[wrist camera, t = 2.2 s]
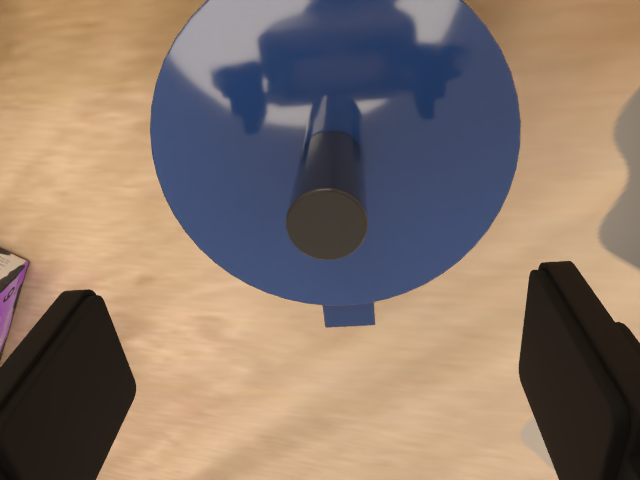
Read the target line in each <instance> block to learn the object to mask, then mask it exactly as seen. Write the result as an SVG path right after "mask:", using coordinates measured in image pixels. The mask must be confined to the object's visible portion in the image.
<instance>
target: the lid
mask: <svg viewBox="0 0 640 480" xmlns="http://www.w3.org/2000/svg"><path fill="white" fill-rule="evenodd" d="M520 128H521V120H520V112H519V103H518V96H517V92H516V89H515V85H514V81H513V78H512V74H511V71H510V69H509V67H508V64H507V62H506V60H505V57H504V55H503V53H502V51H501V49H500V47H499V45H498V44H497V42H496V41H495V39H494V37H493V36H492V34H491V33H490V31H489V30H488V28H487V26H486V25H485V24H484V23H483V22H482V21H481V20H480V18H479V17H478V16H477V15H476V14H475V13H474V11H473V10H472V9H471V8H470V7H469V6H468V5H467V4H466V3H465V2H464V1H462V0H207V1H206V2H205V3H204V4H203V5H202V6H201V7H200V8H199V9H198V10H197V11H196V12H195V13H194V14H193V15H192V16H191V17H190V19H189V20H188V22H187V23H186V24H185V26H184V27H183V28H182V30H181V31H180V33H179V34H178V35H177V37H176V38H175V40H174V42H173V44H172V46H171V48H170V50H169V52H168V54H167V55H166V57H165V59H164V62H163V65H162V67H161V70H160V73H159V76H158V79H157V82H156V86H155V91H154V96H153V101H152V106H151V123H150V135H151V147H152V155H153V160H154V164H155V169H156V173H157V177H158V180H159V182H160V185H161V188H162V191H163V193H164V196H165V198H166V200H167V202H168V204H169V206H170V208H171V210H172V212H173V214H174V215H175V217H176V218H177V220H178V221H179V223H180V224H181V226H182V227H183V229H184V230H185V232H186V233H187V234H188V235H189V237H190V238H191V239H192V240H193V241H194V242H195V244H196V245H197V246H198V247H199V248H200V249H201V250H202V251H203V252H204V253H205V254H206V255H207V256H208V257H209V258H211V259H212V260H213V261H214V262H215V263H216V264H218V265H219V266H220V267H222V268H223V269H224V270H226V271H227V272H228V273H230V274H231V275H233V276H235V277H236V278H238V279H240V280H242V281H243V282H245V283H247V284H248V285H251V286H253V287H255V288H257V289H260V290H262V291H264V292H266V293H269V294H272V295H275V296H278V297H281V298H285V299H288V300H293V301H298V302H302V303H308V304H318V305H355V304H365V303H370V302H375V301H380V300H384V299H388V298H391V297H394V296H397V295H400V294H403V293H406V292H409V291H411V290H413V289H415V288H417V287H420V286H422V285H424V284H426V283H428V282H429V281H431V280H433V279H434V278H436V277H438V276H439V275H441V274H443V273H444V272H445V271H447V270H448V269H449V268H451V267H452V266H453V265H455V264H456V263H457V262H459V261H460V260H461V259H462V258H463V257H464V256H465V255H466V254H467V253H468V252H469V251H470V250H471V249H472V248H473V247H474V246H475V245H476V244H477V243H478V241H479V240H480V239H481V238H482V237H483V235H484V234H485V233H486V232H487V230H488V229H489V228H490V226H491V224H492V223H493V221H494V220H495V218H496V216H497V215H498V213H499V212H500V210H501V208H502V205H503V203H504V201H505V199H506V197H507V195H508V192H509V190H510V187H511V184H512V180H513V177H514V174H515V171H516V167H517V161H518V155H519V149H520Z"/></svg>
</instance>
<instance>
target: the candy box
mask: <svg viewBox="0 0 640 480" xmlns="http://www.w3.org/2000/svg"><path fill="white" fill-rule="evenodd" d="M27 266H28V261H26V260H24V259H22V258H20V257H18V256H16V255H13V254H11V253H9V252H7V251H5V250H3V249H0V358H1V355H2V352H3V348H4V344H5V341H6V337H7V334H8V331H9V327H10V323H11V320H12V316H13V313H14V310H15V307H16V303H17V299H18V296H19V293H20V289H21V286H22V282H23V279H24V276H25V273H26V269H27Z"/></svg>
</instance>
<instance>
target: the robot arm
mask: <svg viewBox="0 0 640 480" xmlns="http://www.w3.org/2000/svg"><path fill="white" fill-rule="evenodd" d="M519 376H520V381H521V384H522V386H523V389H524V391H525V394H526V397H527V399H528V402H529V404H530V407H531V409H532V412H533V414H534V417H535V419H536V422H537V425H538V427H539V430H540V432H541V434H542V437H543V440H544V442H545V445H546V447H547V450H548V453H549V455H550V458H551V460H552V463H553V465H554V468H555V470H556V473H557V476H558V478H559V480H640V343H639V342H638V340H637V339H636V338H635V336H634V335H633V334H632V332H631V331H630V329H629V328H628V327H627V326H626V325H625V324H623V323H620V322H614V320H613V319H612V317H611V316H610V315H609V313H608V312H607V310H606V309H605V308H604V306H603V305H602V303H601V302H600V300H599V299H598V298H597V296H596V295H595V293H594V292H593V290H592V289H591V288H590V286H589V285H588V283H587V282H586V280H585V279H584V278H583V276H582V275H581V273H580V272H579V271H578V269H577V268H576V266H575V265H574V264H573V263H572V262H571V261H562V262H545V263H541V264H540V266H539V269H538V270H532V271H531V273H530V276H529V284H528V293H527V301H526V310H525V318H524V326H523V335H522V343H521V352H520V360H519ZM135 393H136V383H135V380H134V377H133V374H132V372H131V369H130V367H129V364H128V361H127V359H126V356H125V354H124V351H123V349H122V346H121V343H120V341H119V338H118V336H117V333H116V331H115V328H114V325H113V323H112V320H111V318H110V315H109V312H108V310H107V307H106V305H105V302H104V300H103V298H102V297H101V296H98V295H97V296H96V294H95V293H94V292H93V291H92V290H73V291H64V292H63V293H61V294H60V295H59V297H58V298H57V299H56V300H55V301H54V303H53V304H52V305H51V306H50V308H49V309H48V310H47V311H46V312H45V314H44V315H43V316H42V317H41V319H40V320H39V321H38V322H37V323H36V325H35V326H34V327H33V328H32V329H31V331H30V332H29V333H28V334H27V336H26V337H25V338H24V339H23V340H22V342H21V343H20V344H19V345H18V347H17V348H16V349H15V350H14V351H13V353H12V354H11V355H10V356H9V357H8V359H7V360H6V361H5V362H4V364H3V365H2V366H1V367H0V480H96V478H97V476H98V474H99V472H100V470H101V468H102V465H103V463H104V461H105V459H106V457H107V455H108V453H109V451H110V448H111V446H112V444H113V442H114V440H115V438H116V436H117V434H118V432H119V429H120V427H121V425H122V423H123V421H124V419H125V417H126V415H127V412H128V410H129V408H130V406H131V404H132V402H133V400H134V397H135Z"/></svg>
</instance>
